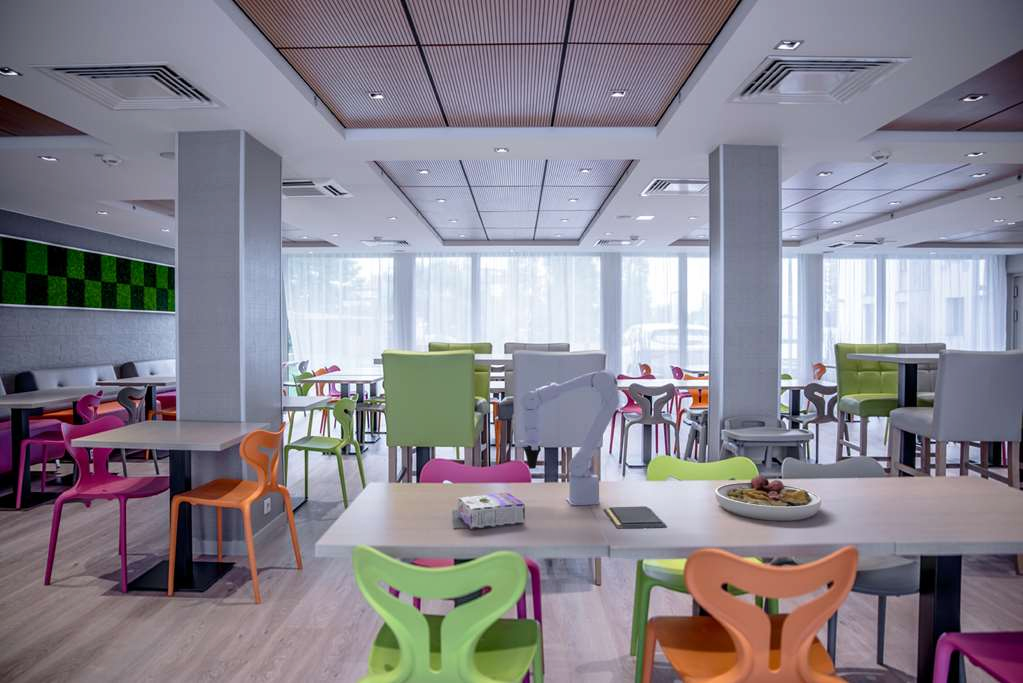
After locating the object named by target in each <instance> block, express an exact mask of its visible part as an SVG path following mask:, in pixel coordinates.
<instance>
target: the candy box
mask: <svg viewBox="0 0 1023 683" xmlns="http://www.w3.org/2000/svg"><path fill="white" fill-rule="evenodd" d="M457 510H458V516H459V517H460V518H461V519H462V520H463V521H464V522H465V523H466V524H467V525H468V526H469V527H470V528H469V529H470V530H473V529H482V528H484V527H488V528H494V527H493V526H502V525H510V526H511V525H518V524H525V522H526V521H525V520H526V519H525V517H526V515H525V513H526V504H525V503H524V501H523V502H522V501H521V500H519V498H516V497H515V496H513V495H512V494H510V493H509V492H501V493H492V494H483V495H472V496H471V495H470V496H461V497H457ZM484 529H485V528H484Z"/></svg>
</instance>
